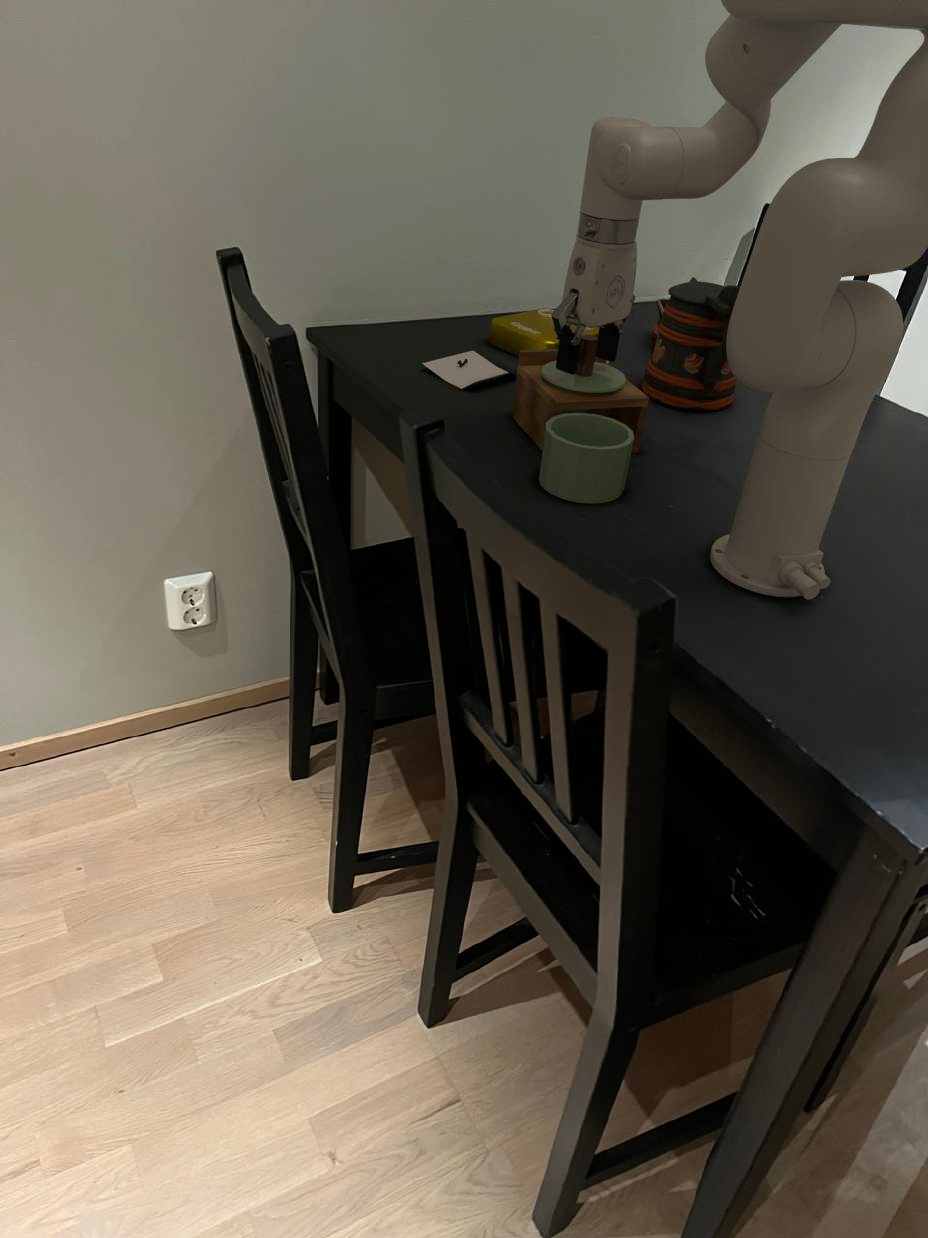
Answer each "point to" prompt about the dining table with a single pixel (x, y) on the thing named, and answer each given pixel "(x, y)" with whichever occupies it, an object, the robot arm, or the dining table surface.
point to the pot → (585, 457)
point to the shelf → (570, 399)
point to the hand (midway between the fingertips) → (585, 364)
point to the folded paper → (466, 369)
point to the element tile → (528, 331)
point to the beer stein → (693, 348)
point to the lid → (586, 372)
